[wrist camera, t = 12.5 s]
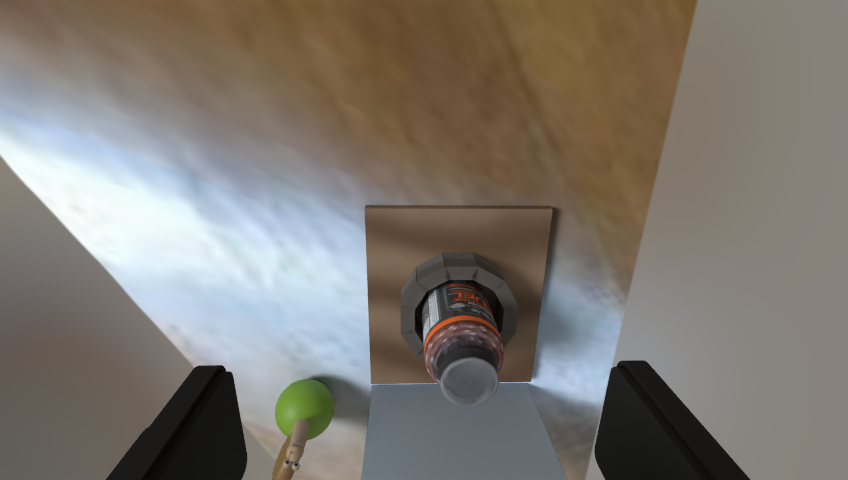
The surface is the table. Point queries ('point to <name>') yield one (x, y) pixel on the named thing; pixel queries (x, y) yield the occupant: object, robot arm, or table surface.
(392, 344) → the socket
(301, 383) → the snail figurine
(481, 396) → the supplement bottle
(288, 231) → the table surface
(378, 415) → the grey l-shaped stand
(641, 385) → the robot arm
